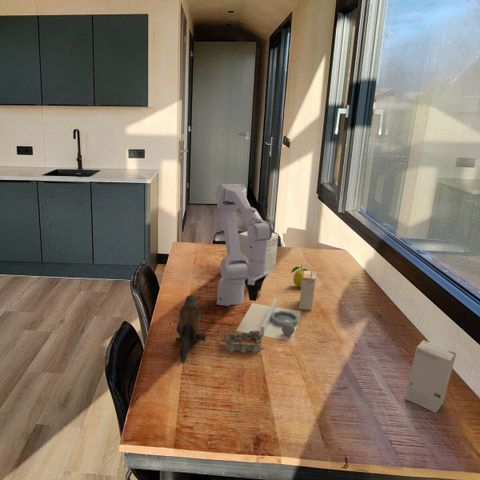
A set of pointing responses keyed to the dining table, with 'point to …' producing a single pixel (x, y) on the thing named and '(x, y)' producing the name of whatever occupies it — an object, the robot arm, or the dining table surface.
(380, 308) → the dining table surface
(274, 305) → the fence
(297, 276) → the lemon
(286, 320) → the dish
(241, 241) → the supplement box
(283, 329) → the grey ball
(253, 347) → the egg carton
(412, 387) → the skincare box
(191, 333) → the bird figurine
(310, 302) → the supplement box
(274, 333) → the board
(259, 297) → the rust ball
